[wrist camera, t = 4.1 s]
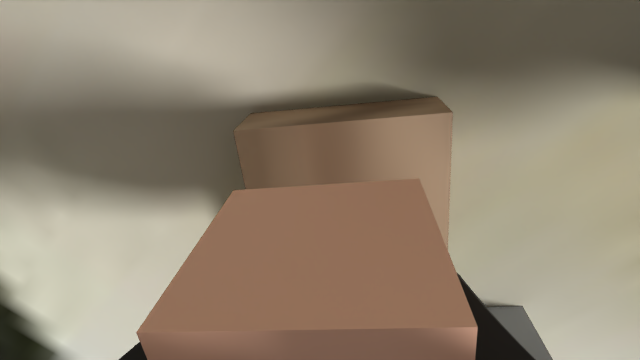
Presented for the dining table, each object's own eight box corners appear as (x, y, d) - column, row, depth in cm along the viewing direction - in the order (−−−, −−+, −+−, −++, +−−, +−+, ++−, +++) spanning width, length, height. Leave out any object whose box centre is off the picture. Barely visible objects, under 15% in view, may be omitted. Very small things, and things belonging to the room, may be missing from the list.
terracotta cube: (419, 178, 10) (477, 327, 5) (419, 324, 12) (461, 524, 7) (233, 190, 10) (136, 332, 6) (264, 326, 12) (210, 513, 8)
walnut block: (435, 94, 16) (452, 112, 13) (433, 251, 19) (446, 291, 16) (252, 111, 17) (233, 130, 14) (280, 257, 20) (268, 296, 17)
